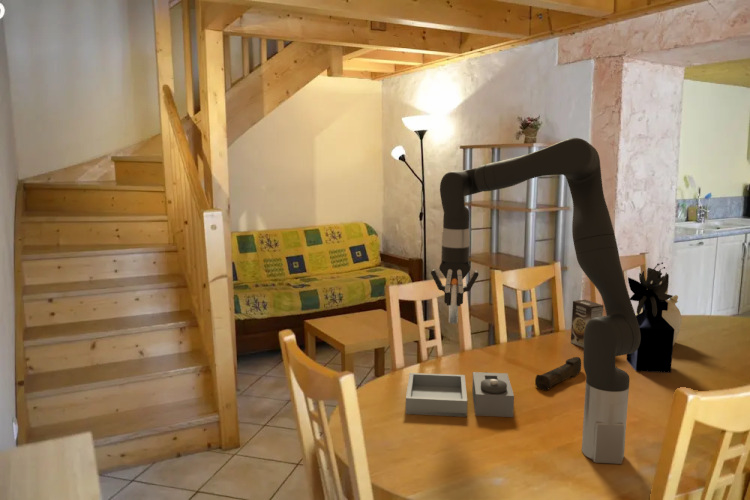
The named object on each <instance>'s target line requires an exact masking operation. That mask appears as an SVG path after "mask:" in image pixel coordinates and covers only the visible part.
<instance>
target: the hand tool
mask: <svg viewBox="0 0 750 500" xmlns="http://www.w3.org/2000/svg"><path fill="white" fill-rule="evenodd" d="M581 370H582V359H581V357H579V356H573V357H571V358H568V359H566V360H565V364H563V365H560V366H559V367H556V368H554V369H551V370H548V372H545V373H543V374H536V376H535V378H534V379H535V380H534V381H535V383H534V384H535V386H536V388H537V389H539V390H542V391H548V390H549V389H550V390H551V389H552V386H554V385H557V384H558V383H561V382H563V381H565V380H566V379H568V378H576V377H577V376H578V375H579V374H580V373H581Z"/></svg>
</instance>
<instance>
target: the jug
mask: <svg viewBox="0 0 750 500" xmlns="http://www.w3.org/2000/svg"><path fill="white" fill-rule="evenodd" d="M661 278H662V276H661ZM668 291H669V288H668V289H667V291H666V293H665V294H668V293H669V292H668ZM678 299H679V296H678V295H676V294H675V295H672V297H671V298H669V299H668V300H665V301H666V302H668V311H664V310H662V317H663V318H664V319H665V320H666V321H667V322H668V323H669V324H670V325H671V326H672V327H673V328H674V341H673V346H675V344H676V341H677V338H678V335H679V333H680V329H681V326H682V315H681V312H680V309H679V308H678V306H677V305H676V304H677V303H678V302H679V301H678ZM642 312H643V308H642V309H641V312H640V313H642ZM640 313H639V314H640ZM635 315H638V314H637V310H636V312H635Z"/></svg>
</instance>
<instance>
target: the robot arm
mask: <svg viewBox="0 0 750 500" xmlns="http://www.w3.org/2000/svg"><path fill="white" fill-rule="evenodd" d="M560 175H561V176H562V175H563V176H564V177H565V179H566V181H567V185H568V187H569V190H570V195H571V199H572V207H573V208H572V209H573V210H572V211H573V212H572V222H571V223H572V227H571V231H572V232H571V233H572V241H573V247H574V252H575V255H576V256H575V257H576V260H577V263H578V266H579V267H580V269H581V270H582V272H583V273H584V274H585V276H586V277H587V278H588V279H589V280H590V282H591V283H592V284H593V285H594V287H595V288H596V290H597V291H598V293H599V294H600V296H601V299H602V302H603V305H604V306H603V307H604V309H605V315H603V316H601V317H595V318H592V319H591V320H589V321H588V323H587V324H586V327H585V330H584V348H583V362H582V363H583V368H584V372H585V373H584V374H585V389H584V390H585V391H584V392H585V393H584V404H583V421H582V437H581V438H582V440H581V453H582V454H583V455H584V456H585V457H587V458H589V459H590V460H592V462H593V463H598V464H599V463H601V464H618V465H622V464H623V460H624V458H625V446H626V432H627V431H626V430H627V418H628V406H629V405H628V403H629V389H630V375H629V374H628V373H627V371H625V370H623V369H621V368H618V367H617V366H616V357H620V356H625V355H626V356H627V354H631V353H634V352H635V351H636V350H637V349H638V348H639V345H640V341H641V335H640V329H639V325H638V321H637V318H636V312H635V309H634V307H633V304H632V300H630V298H631V296H630V295H629V291H628V288H627V284H626V280H625V277H624V276H625V275H624V272H623V268H622V264H621V259H620V253H619V248H618V247H619V246H618V244H617V239H616V233H615V230H614V227H613V222H612V219H611V215H610V212H609V208H608V205H607V203H606V198H605V194H604V188H603V179H602V168H601V158H600V155H599V153H598V150H597V149H596V148H595V147H594V146H593V145H592V144H590V142H588V141H586V140H584V138H580V137H570V138H568V139H564V140H562V141H559V142H557V143H554V144H552V145H549V146H546V147H545V148H541V149H539V150H537V151H534V152H530V153H528V154H527V153H526V154H523V155H520V156H516V157H513V158H512V157H511V158H507V159H503V160H501V161H500V160H499V161H494V162H490V163H486V164H482V165H479V166H478V167H476V168H470V169H465V170H452V171H449V172H447V173H445V174H444V175H443V176H442V178H441V181H440V184H439V194H440V201H441V205H442V209H443V210H442V211H443V219H442V220H443V223H442V224H443V225H442V226H443V227H442V233H441V234H442V235H441V259H440V260H441V262H440V265H439V267H437V268H432V269H431V270H430V275H431V277H432V279H433V280H434V281H433V282H434V283H435V286H436V287H437V289H438V290H439V291H442V292H444V300H443V301H444V304H446V306H448V307H449V298H450V282H451V279H454V278H455V279H457V280H458V285H459V293H458V307H461V305H463V303H464V293H466V292H470V291H471V289H472V288H473V286H474V284H475V282H476V280H477V279H478V277H479V271H478V270H475V269H472V268H471V265H470V262H469V261H470V243H471V242H470V210H469V208H468V207H466V206H465V197H467V196H473V195H475V194H478V193H479V194H480V193H482V192H493V191H496V190H502V189H507V188H509V187H514V186H517V185H518V184H522V183H525V182H526V181H528V180H532V179H535V178H539V177H545V176H560ZM440 273H441V274H442V275H443V277H444V278H445V285H444V284H443V283H442V281H441V279H440V277H439V276H440V275H441V274H440ZM468 274H469V277H470V278H469V280H468V282H467V283H466V285H464V282H463V281H464V278H466V276H467V275H468Z"/></svg>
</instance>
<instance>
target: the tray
mask: <svg viewBox="0 0 750 500" xmlns="http://www.w3.org/2000/svg"><path fill="white" fill-rule="evenodd" d="M407 381H408V383H407V388H406V394H405V414H406V415H422V416H423V415H426V416H446V417H459V418H462V417H464V418H466V417H467V416H468V396H467V394H468V393H467V386H466V385H467V383H466V375H465V374H450V373H448V374H447V373H446V374H445V373H421V372H409V375H408V380H407Z"/></svg>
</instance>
